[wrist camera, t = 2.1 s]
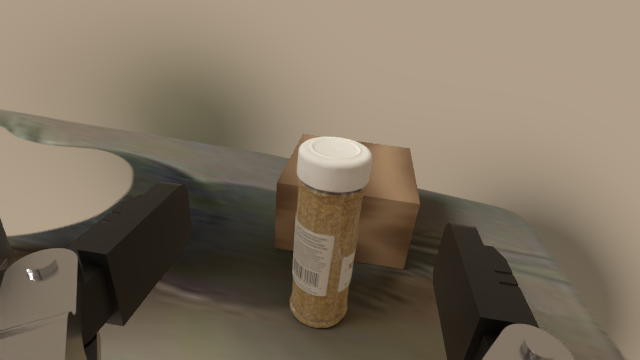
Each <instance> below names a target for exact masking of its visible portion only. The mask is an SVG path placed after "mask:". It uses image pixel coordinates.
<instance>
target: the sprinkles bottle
mask: <svg viewBox="0 0 640 360" xmlns="http://www.w3.org/2000/svg"><path fill="white" fill-rule="evenodd" d="M371 164H372V154H371V152H370V150H369V149H368V148H367V147H366V146H364V145H362V144H361V143H358V142H356V141H353V140H350V139H346V138H340V137H317V138H312V139H309V140H307V141H305V142H304V143H302V144H301V146H300V147H299V151H298V162H297V175H298V181H299V188H298V203H297V212H296V219H295V234H294V251H293V268H292V274H293V285H292V294H291V297H290V308H291V311H292V313H293V315H294V316H295V317H296V318H297V319H298V320H299V321H300V322H302V323H303V324H305V325H307V326H310V327H314V328H327V327H331V326H333V325H335V324H337V323H338V322H339V321H340V320H341V319H342V318H343V317H344V316H345V314H346V311H347V306H348V303H347V297H348V289H349V283H350V281H351V276H352V270H353V263H354V256H355V250H356V243H357V237H358V224H359V218H360V212H361V204H362V200H363V192H364V190H365V188H366V184H367V183H368V181H369V177H370V172H371Z"/></svg>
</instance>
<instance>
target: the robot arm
mask: <svg viewBox="0 0 640 360" xmlns="http://www.w3.org/2000/svg"><path fill="white" fill-rule="evenodd" d="M190 234H191V220H190V210H189V200H188V191H187V188H186V186H185V185H182V184H175V183H168V182H158V183H156V184H155V185H154V186H153V187H152V188H150V189H149V190H148V191H147V192H146V193H144V194H143V195H141V194H140V195H138V196H136V197H134V198H131V199H129V200H127V201H125V202H123V203H122V204H121V205H119V206H118V207H117V208H116V209H114V210H113V211H112V214H111V213H109V214H108V215H107V216H106V217H104V218H103V219H102V222H100V221H99V222H98V223H97V224H96V225H94V226H93V227H92V228H91V229H89V230H88V231H87V232H86V233H84V234H83V235H82V236H81V237H79V238H78V239H77V240H76V241H74V242H73V243H72V244H71V245H69V246H68V247H67V248H66V249H63V248H53V249H46V250H41V251H38V252H34V253H32V254H29V255H27V256H25V257H23V258H21V259H19V260H18V261H16V259H15V256H14V254H13V251H12V249H11V246H10V243H9V241H8V238H7V236H6V233H5V230H4V228H3V225H2V222H1V219H0V360H101V339H100V334H99V330H100V329H101V327H102V326H103V325H104V324H105V323H109V324H114V325H120V326H124V325H125V324H126V322H127V321H128V320H129V318H130V317H131V316H132V315H133V313H134V312H135V311H136V309H137V308H138V307H139V306H140V304H141V303H142V302H143V300H144V299H145V298H146V297H147V295H148V294H149V293H150V291H151V290H152V289H153V288H154V286H155V285H156V284H157V282H158V281H159V280H160V279H161V277H162V276H163V275H164V273H165V272H166V271H167V270H168V268H169V267H170V266H171V264H172V263H173V262H174V261H175V259H176V258H177V257H178V255H179V254H180V253H181V252H182V250H183V249H184V248H185V246H186V245H187V243H188V241H189V238H190ZM433 286H434V291H435V296H436V302H437V307H438V312H439V317H440V323H441V328H442V333H443V339H444V344H445V349H446V354H447V360H574V358H573V356H572V354H571V353H570V351H569V350H568V349H567V348H566V347H565V346H564V345H563V344H562V343H561V342H560V341H559V340H558V339H556V338H555V337H554V336H552V335H551V334H549V333H547V332H546V331H544V330H542V329H540V328H539V326H538V324H537V322H536V320H535V318H534V316H533V314H532V312H531V310H530V308H529V306H528V304H527V302H526V300H525V298H524V296H523V293H522V291H521V289H520V288H519V287H518V283H517V281H516V279H515V277H514V276H512V271H511V269H510V267H509V265H508V263H507V261H506V259H505V258H504V257H503V256H502V255H501V254H500V253H499V252H498V251H497V250H496V249H495V248H494V247H492V246H485V245H483V243H482V240H481V238H480V236H479V233H478V231H477V229H476V227H473V226H466V225H459V224H452V223H448V224H447V225H446V227H445V230H444V233H443V237H442V241H441V244H440V248H439V251H438V255H437V258H436V262H435V266H434V272H433Z"/></svg>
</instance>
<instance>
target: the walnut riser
mask: <svg viewBox="0 0 640 360" xmlns="http://www.w3.org/2000/svg"><path fill="white" fill-rule="evenodd" d="M317 137H320V136H314V135H306V134H303V135H302V137H301V139H300V141H299V143H298V145H297V146H296V148H295V150H294V153H293V154H292V156H291V158H290V159H289V161H288V163H287V165H286V167H285V169H284V171H283V172H282V174H281V176H280V178H279V180H278V182H277V195H276V222H275V248H276V249H282V250H288V251H294V234H295V219H296V212H297V203H298V188H299V181H298V175H297V162H298V151H299V147H300V146H301V144H302V143H304V142H305V141H307V140H309V139H312V138H317ZM356 142H358V141H356ZM358 143H361V144H362V145H364V146H366V147H367V148H368V149H369V150H370V152H371V154H372V164H371V172H370V177H369V181H368V183H367V184H366V188H365V190H364V192H363V200H362V204H361V212H360V218H359V224H358V237H357V243H356V250H355V256H354V261H355V262H361V263H367V264H373V265H379V266H385V267H391V268H397V269H403V270H404V266H405V262H406V258H407V254H408V250H409V246H410V242H411V238H412V234H413V230H414V226H415V223H416V219H417V215H418V211H419V207H420V200H419V195H418V190H417V185H416V179H415V174H414V169H413V164H412V159H411V153H410V149H409V148H402V147H395V146H388V145H380V144H373V143H365V142H358Z"/></svg>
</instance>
